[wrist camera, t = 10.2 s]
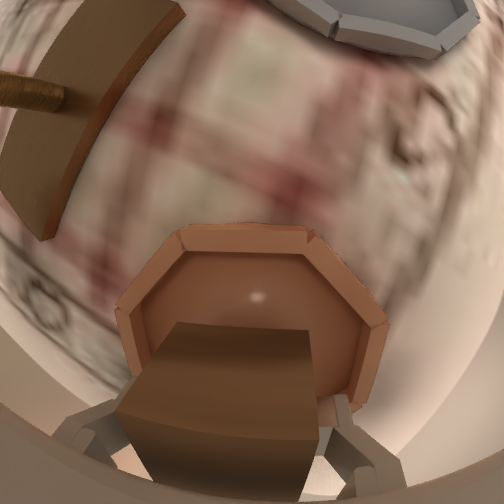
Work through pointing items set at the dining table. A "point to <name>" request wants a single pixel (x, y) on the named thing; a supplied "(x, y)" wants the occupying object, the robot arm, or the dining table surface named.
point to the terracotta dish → (258, 298)
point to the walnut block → (226, 412)
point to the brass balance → (73, 101)
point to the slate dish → (387, 23)
